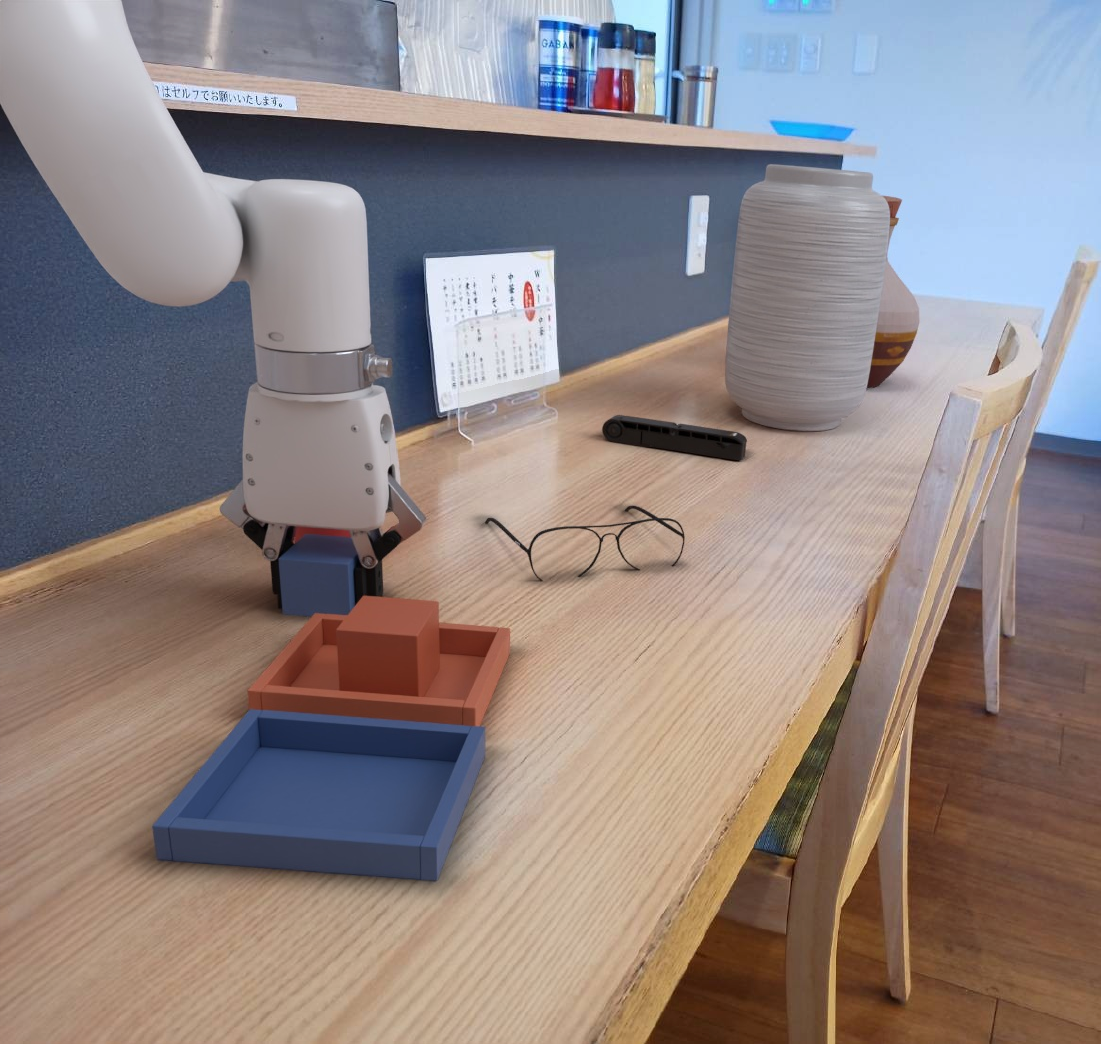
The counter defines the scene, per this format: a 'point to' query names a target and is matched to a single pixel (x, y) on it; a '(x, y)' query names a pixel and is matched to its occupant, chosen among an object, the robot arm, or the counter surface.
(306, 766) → the blue tray
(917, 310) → the jug
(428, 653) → the terracotta block
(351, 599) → the blue block
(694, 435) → the tablet stand
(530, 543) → the glasses
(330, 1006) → the counter surface
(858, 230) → the vase
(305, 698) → the terracotta tray
